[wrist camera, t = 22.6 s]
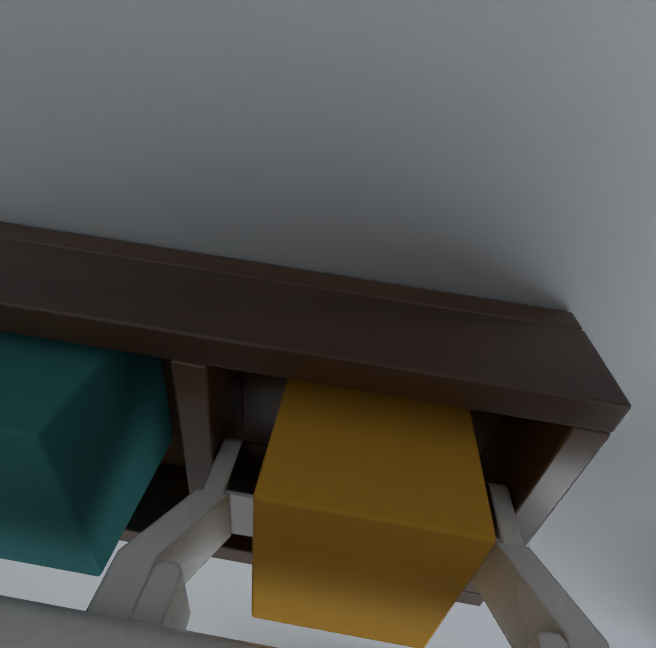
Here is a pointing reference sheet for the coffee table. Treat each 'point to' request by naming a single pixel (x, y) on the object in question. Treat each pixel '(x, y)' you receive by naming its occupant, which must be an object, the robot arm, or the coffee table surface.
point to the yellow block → (367, 514)
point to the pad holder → (316, 358)
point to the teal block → (75, 448)
